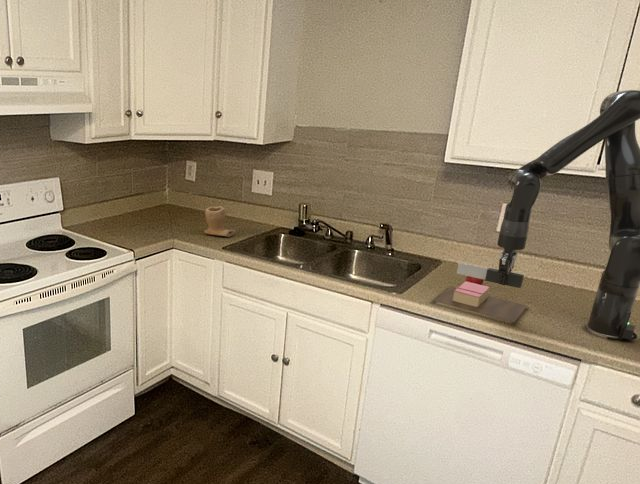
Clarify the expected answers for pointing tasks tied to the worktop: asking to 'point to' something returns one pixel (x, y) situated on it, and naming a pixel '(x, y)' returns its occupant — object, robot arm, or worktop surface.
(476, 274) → the knife
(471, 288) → the cake
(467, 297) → the pink and tan block
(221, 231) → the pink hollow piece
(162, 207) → the worktop surface
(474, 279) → the onion
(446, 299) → the cake board
